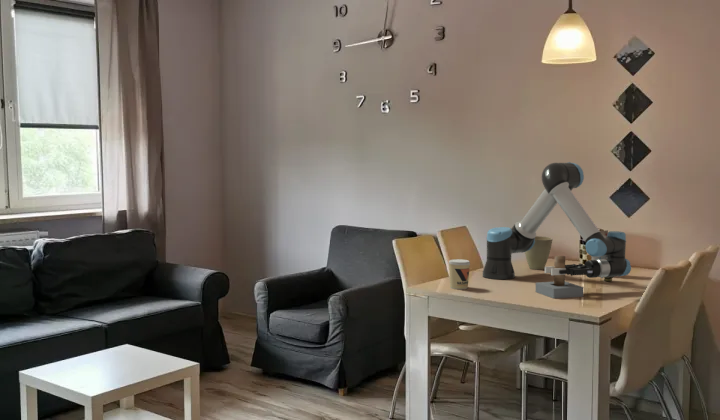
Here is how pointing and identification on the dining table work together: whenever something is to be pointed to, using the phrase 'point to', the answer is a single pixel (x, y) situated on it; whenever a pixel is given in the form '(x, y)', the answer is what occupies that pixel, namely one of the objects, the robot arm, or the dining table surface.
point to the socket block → (559, 290)
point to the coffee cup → (459, 273)
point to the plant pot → (539, 253)
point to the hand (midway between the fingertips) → (548, 271)
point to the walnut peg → (559, 263)
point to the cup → (608, 279)
